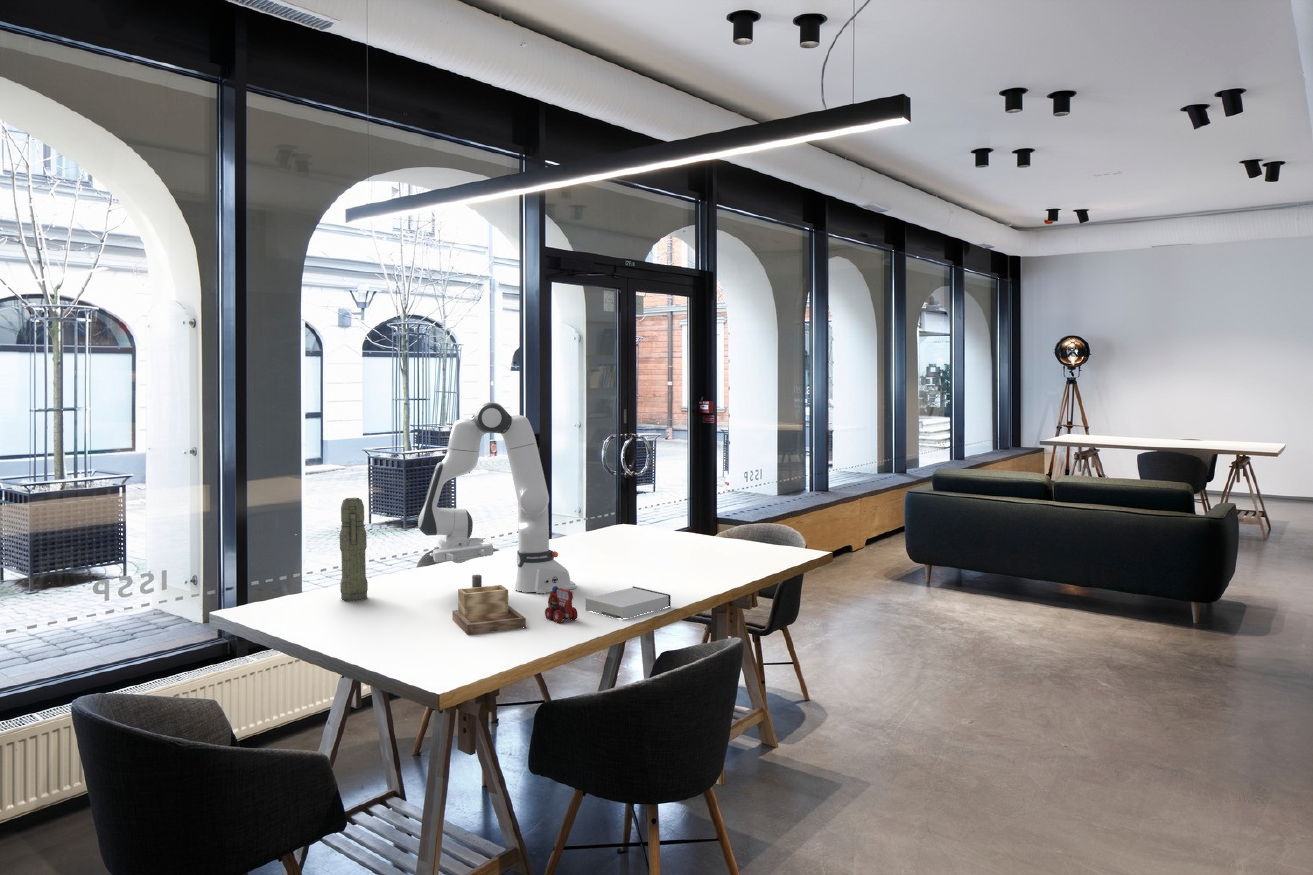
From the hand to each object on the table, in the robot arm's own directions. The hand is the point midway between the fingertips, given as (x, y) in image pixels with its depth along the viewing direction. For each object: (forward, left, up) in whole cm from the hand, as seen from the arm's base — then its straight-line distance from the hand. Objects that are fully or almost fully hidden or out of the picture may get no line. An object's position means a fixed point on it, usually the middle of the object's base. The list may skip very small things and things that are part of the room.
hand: (468, 556), depth 301 cm
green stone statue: (+33, -28, -17) cm, 47 cm away
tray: (0, +25, -17) cm, 30 cm away
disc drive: (-46, +27, -18) cm, 57 cm away
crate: (0, +16, -15) cm, 22 cm away
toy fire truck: (-22, +30, -17) cm, 41 cm away
